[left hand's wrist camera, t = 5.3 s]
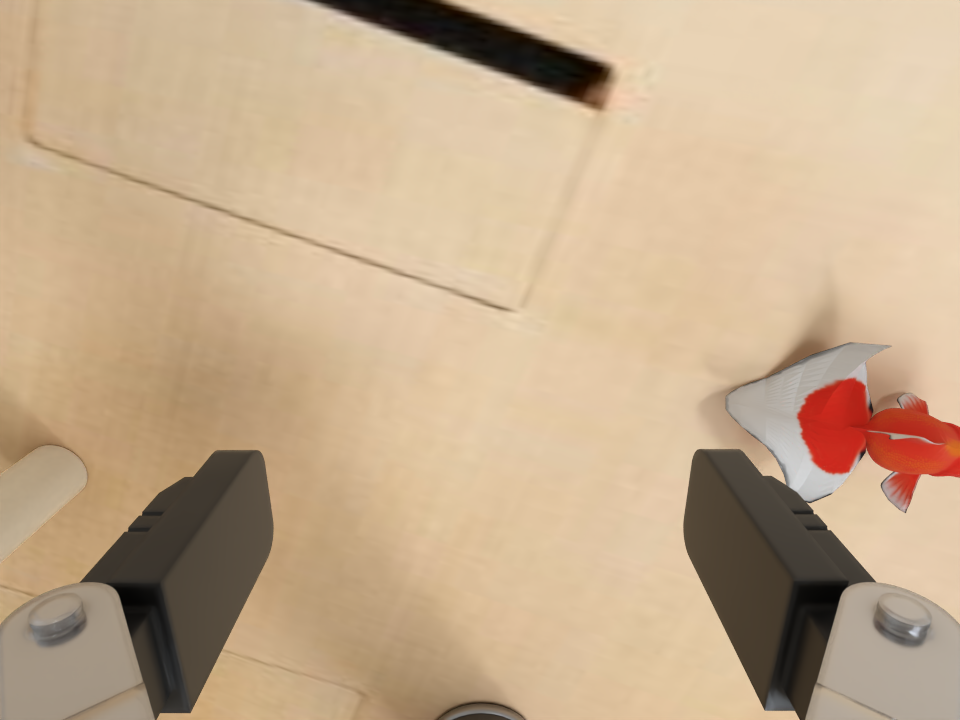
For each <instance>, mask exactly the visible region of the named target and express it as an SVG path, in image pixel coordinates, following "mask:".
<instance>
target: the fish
mask: <svg viewBox="0 0 960 720" xmlns="http://www.w3.org/2000/svg"><path fill="white" fill-rule="evenodd" d="M889 347H891V346H888V345H875V344H863V343H847V344H844V345H841V346H838V347H835V348H832V349H828V350H825V351H822V352H819V353H816V354H813V355H810V356H808V357H806V358H804V359H802V360H800V361H798V362H796V363H795V364H793V365H791V366H789V367H787V368H785V369H783V370H781V371H779V372H777V373H775V374H773V375H771V376H769V377H767V378H765V379H761V380H758V381H755V382H751V383H749V384H747V385H744V386H742V387H739V388H738V389H736V390H734V391H732V392H731V393H729V394H728V395H727V396H726V410H727V412H728V413H729V414H730V415H731V417H732V418H733V419H734V420H735V421H736V422H737V423H738V424H739V425H740V426H742V427H743V428H744V429H745V430H746V431H748V432H749V433H750V434H751V435H752V436H754V437H755V438H756V439H757V440H759V441H760V442H761V443H763V444H764V445H765V446H766V447H767V448H768V449H769V451H770V452H771V453H772V454H773V456H774V457H775V458H776V460H777V462H778V464H779V466H780V468H781V470H782V472H783V474H784V477H785V481H786V485H787V486H788V487H790V488H791V489H793V490H795V491H796V492H797V493H798V494H799V495H800V496H801V497H802V498H803V499H804V501H805V502H807V503H812V502H814V501H817V500H819V499H821V498H824V497H826V496H828V495H831V494H832V493H833V492H834V491H835V490H836V489H837V488H838V487H840V486H841V485H842V484H843V482H844V481H845V480H846V479H847V477H848V476H849V475H850V473H851V472H852V471H853V469H854V468H855V467H856V465H857V464H858V462H859V461H860V460H861V458H862V457H863V455H864V454H865V452H866V448H867V451H868V453H869V455H870V457H871V458H872V460H873V461H874V462H875V463H877V464H878V465H880V466H881V467H883V468H885V469H888V470H890V471H894V472H893V473H891V474H890V475H889V476H888V477H887V478H886V479H885V480H884V481H883V482H882V483H881V488H882V490H883V492H884V494H885V495H886V497H887V498H888V500H889V501H890V502H891V503H892V504H894V505H895V506H896V507H897V508H898V509H899V510H901V511H903V512H905V513H906V511H907V508H908V506H909V504H910V502H911V499H912V496H913V492H914V490H915V488H916V485H917V482H918V480H919V478H920V476H921V474H929V475H932V476H954V477H958V478H960V427H958V426H956V425H954V424H951V423H946V422H941V421H940V420H938V419H936V418H934V417H932V416H930V415H929V412H928V406H927V404H926V402H925V401H923V400H921V399H919V398H918V397H916V396H915V395H913V394H912V393H906V394H903V395H902V396H900V397H899V398H898V399H897V401H898V403H899V404H900V406H901V408H902V409H901V408H890V409H885V410H883V411H881V412H879V413H877V414H876V415H874V416H873V417H872V413H873V408H872V404H871V399H870V396H869V392H868V388H867V370H866V361H867V360H868V359H869V358H871V357H872V356H874V355H875V354H877V353H878V352H880V351H882V350H884V349H886V348H889ZM871 417H872V418H871Z"/></svg>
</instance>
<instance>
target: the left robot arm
mask: <svg viewBox="0 0 960 720" xmlns="http://www.w3.org/2000/svg"><path fill="white" fill-rule="evenodd" d="M683 528H684V540H685V546H686V549H687V553H688V555H689V557H690V559H691V561H692V563H693V566H694V568H695V570H696V572H697V574H698V576H699V578H700V580H701V582H702V584H703V586H704V588H705V590H706V592H707V594H708V596H709V598H710V600H711V602H712V604H713V606H714V608H715V610H716V612H717V614H718V616H719V618H720V620H721V622H722V624H723V627H724V629H725V631H726V633H727V635H728V637H729V639H730V641H731V643H732V645H733V647H734V649H735V651H736V653H737V655H738V657H739V659H740V661H741V663H742V665H743V667H744V669H745V671H746V673H747V675H748V677H749V679H750V681H751V683H752V685H753V687H754V690H755V692H756V694H757V696H758V698H759V700H760V702H761V704H762V706H763V708H764V710H765V711H795V712H796V713H797V715H798V717H799V719H800V720H960V624H959V623H958V622H957V621H956V620H955V619H954V618H953V617H952V616H951V615H950V614H949V613H947V612H946V611H945V610H944V609H942V608H941V607H940V606H938V605H937V604H935V603H933V602H932V601H930V600H928V599H927V598H925V597H923V596H921V595H919V594H917V593H914V592H912V591H909V590H907V589H904V588H900V587H897V586H894V585H889V584H884V583H877V582H876V581H875V580H874V579H873V578H872V577H871V576H870V574H869V573H868V572H867V571H866V570H865V569H864V568H863V567H862V565H861V564H860V563H859V562H858V561H857V560H856V559H855V557H854V556H853V555H852V554H851V553H850V552H849V551H848V549H847V548H846V547H845V546H844V545H843V544H842V543H841V541H840V540H839V539H838V538H837V537H836V536H835V535H834V534H833V532H832V531H831V530H827V526H826V524H825V523H824V522H823V521H822V520H821V519H820V518H819V516H818V515H817V514H814V513H813V510H812V509H811V507H810V506H809V505H808V504H807V503H806V502H805V501H804V499H803V498H802V497H801V496H800V495H799V494H798V493H797V492H796V491H795V490H793V489H791V488H790V487H788V486H787V485H785V484H783V483H782V482H780V481H779V480H777V479H775V478H774V477H772V476H762V474H761V473H760V472H759V471H758V469H757V468H756V467H755V466H754V465H753V463H752V462H751V461H750V460H749V458H748V457H747V456H746V455H745V454H744V452H743V451H741V450H739V449H699V450H697V451H696V452H695V454H694V456H693V460H692V465H691V473H690V480H689V487H688V494H687V501H686V508H685V515H684V526H683ZM272 540H273V517H272V510H271V503H270V496H269V489H268V482H267V475H266V468H265V462H264V458H263V455H262V453H261V452H260V451H258V450H217V451H215V452H214V453H213V454H212V455H211V456H210V457H209V459H208V460H207V461H206V462H205V464H204V465H203V466H202V467H201V468H200V470H199V471H198V472H197V473H196V474H195V476H194V477H184V478H183V479H181V480H179V481H178V482H176V483H175V484H173V485H171V486H170V487H168V488H167V489H165V490H163V491H162V492H160V493H159V494H158V495H157V496H156V497H155V498H154V499H153V501H152V502H151V503H150V504H149V505H148V506H147V507H146V508H145V510H144V511H143V512H142V516H138V518H137V519H136V520H135V521H134V522H133V523H132V524H131V525H130V527H129V528H128V532H124V533H123V534H122V536H121V537H120V538H119V539H118V540H117V541H116V542H115V543H114V545H113V546H112V547H111V548H110V549H109V550H108V551H107V552H106V554H105V555H104V556H103V557H102V558H101V559H100V560H99V561H98V563H97V564H96V565H95V566H94V567H93V568H92V569H91V570H90V572H89V573H88V574H87V575H86V576H85V577H84V578H83V580H82V581H81V582H80V583H76V584H71V585H66V586H63V587H60V588H56V589H53V590H51V591H48V592H46V593H43V594H41V595H39V596H37V597H35V598H33V599H32V600H30V601H28V602H27V603H25V604H23V605H22V606H20V607H19V608H18V609H16V610H15V611H14V612H13V613H11V614H10V615H9V616H8V617H7V618H6V619H5V620H4V621H3V622H2V623H1V624H0V720H156V719H157V718H158V716H159V714H160V713H191V711H192V709H193V707H194V705H195V703H196V701H197V699H198V697H199V695H200V693H201V691H202V689H203V687H204V685H205V683H206V681H207V679H208V677H209V675H210V673H211V671H212V669H213V667H214V665H215V663H216V661H217V659H218V657H219V655H220V653H221V651H222V649H223V647H224V645H225V643H226V641H227V639H228V637H229V635H230V633H231V631H232V629H233V627H234V625H235V623H236V620H237V618H238V616H239V614H240V612H241V610H242V608H243V606H244V604H245V602H246V600H247V598H248V596H249V594H250V592H251V590H252V588H253V586H254V584H255V582H256V580H257V578H258V576H259V574H260V572H261V570H262V568H263V566H264V564H265V562H266V560H267V558H268V556H269V553H270V550H271V546H272ZM439 720H524V719H523V718H522V717H521V716H520V715H519V714H517V713H516V712H514V711H512V710H510V709H508V708H505V707H502V706H498V705H493V704H482V703H481V704H470V705H465V706H461V707H458V708H455V709H453V710H451V711H449V712H447V713H446V714H444V715H443V716H442V717H441V718H440V719H439Z"/></svg>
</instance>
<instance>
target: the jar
mask: <svg viewBox="0 0 960 720" xmlns="http://www.w3.org/2000/svg"><path fill="white" fill-rule="evenodd" d="M87 478H88V477H87V470H86V468H85V465H84V464H83V462H82V461H81V460H80V458H79V457H78V456H77V455H75V454H74V453H73V452H71V451H70V450H68V449H66V448H63V447H60V446H55V445H45V446H40V447H38V448H36V449H34V450H33V451H31V452H30V453H29V454H27V455H26V456H24V457H23V458H22V459H20V460H19V461H17V462H16V463H15V464H13V465H12V466H10V467H9V468H8V469H6V470H5V471H3V472H2V473H1V474H0V564H1V563H2V562H3V561H4V560H5V559H7V558H8V557H9V556H10V555H11V554H12V553H13V552H14V551H15V550H17V549H18V548H19V547H20V546H21V545H22V544H23V543H24V542H25V541H27V540H28V539H29V538H30V537H31V536H32V535H33V534H34V533H35V532H36V531H38V530H39V529H40V528H41V527H42V526H43V525H44V524H45V523H46V522H48V521H49V520H50V519H51V518H52V517H53V516H54V515H55V514H56V513H58V512H59V511H60V510H61V509H62V508H63V507H64V506H65V505H66V504H68V503H69V502H70V501H71V500H72V499H73V498H74V497H75V496H76V495H77V494H79V493H80V492H81V491H82V490H83V489H84V487H85V486H86V483H87Z"/></svg>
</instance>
